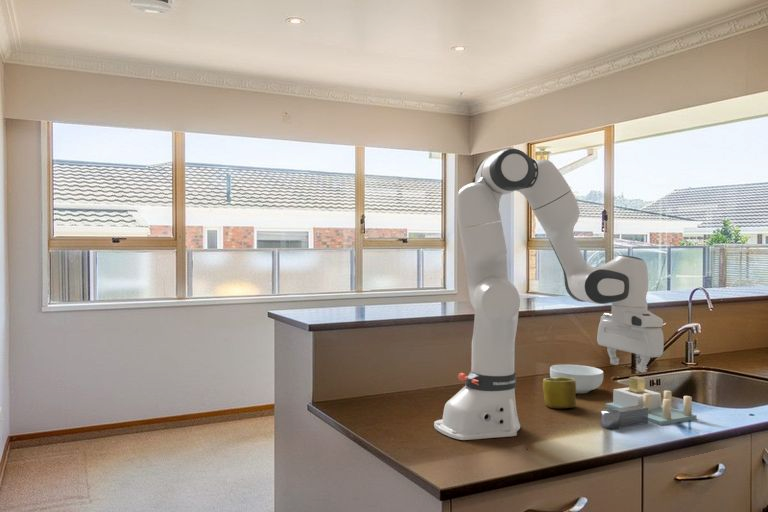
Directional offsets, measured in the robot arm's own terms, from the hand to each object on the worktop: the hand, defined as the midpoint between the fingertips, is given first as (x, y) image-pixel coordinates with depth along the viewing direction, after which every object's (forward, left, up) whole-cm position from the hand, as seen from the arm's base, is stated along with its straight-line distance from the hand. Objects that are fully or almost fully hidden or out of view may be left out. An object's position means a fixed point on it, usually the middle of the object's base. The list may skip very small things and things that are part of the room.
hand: (627, 368), depth 156 cm
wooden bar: (+13, +9, -14) cm, 21 cm away
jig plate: (+13, +4, -15) cm, 20 cm away
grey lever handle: (-2, -1, -15) cm, 15 cm away
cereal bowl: (+12, +32, -15) cm, 38 cm away
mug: (-5, +21, -15) cm, 26 cm away
